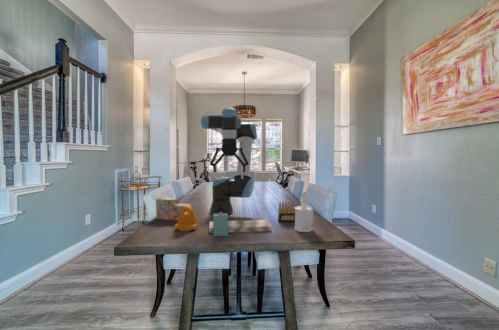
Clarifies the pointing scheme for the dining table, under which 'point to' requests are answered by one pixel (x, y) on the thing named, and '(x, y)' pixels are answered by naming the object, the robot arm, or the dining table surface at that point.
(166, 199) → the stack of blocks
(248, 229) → the board
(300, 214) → the white smoke grenade
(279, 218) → the ammunition clip
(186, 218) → the orange bell-shaped figure
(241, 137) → the robot arm
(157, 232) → the dining table surface
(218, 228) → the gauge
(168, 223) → the dining table surface
